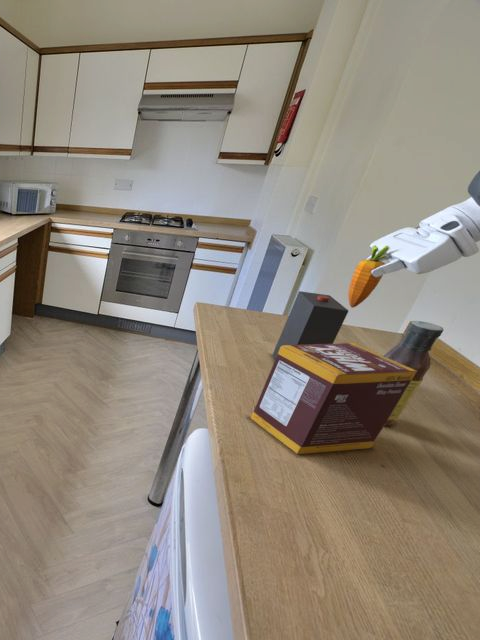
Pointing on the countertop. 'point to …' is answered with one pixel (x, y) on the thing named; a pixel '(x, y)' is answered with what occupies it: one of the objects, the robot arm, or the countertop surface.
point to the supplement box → (330, 396)
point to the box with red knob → (312, 321)
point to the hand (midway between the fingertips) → (366, 271)
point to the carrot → (365, 277)
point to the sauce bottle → (413, 358)
